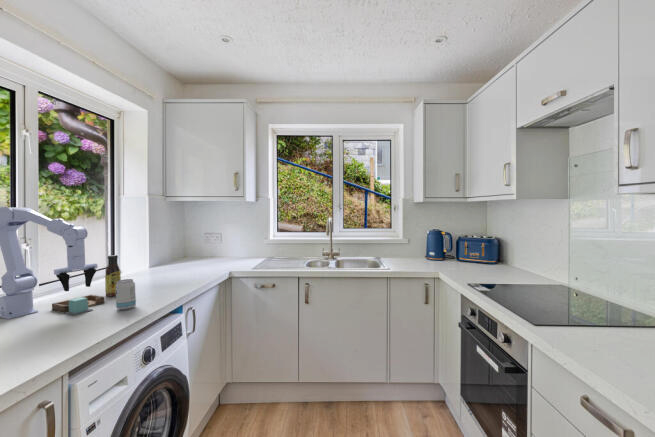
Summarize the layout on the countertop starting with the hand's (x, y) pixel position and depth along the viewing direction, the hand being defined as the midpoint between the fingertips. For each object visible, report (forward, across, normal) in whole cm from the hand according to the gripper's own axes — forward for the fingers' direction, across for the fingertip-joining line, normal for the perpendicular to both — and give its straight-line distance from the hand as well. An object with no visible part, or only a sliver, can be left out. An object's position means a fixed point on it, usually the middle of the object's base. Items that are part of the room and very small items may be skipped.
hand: (77, 288), depth 127 cm
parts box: (+10, +4, +9) cm, 14 cm away
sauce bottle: (+10, +22, +14) cm, 27 cm away
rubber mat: (+10, 0, 0) cm, 10 cm away
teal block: (+9, 0, 0) cm, 9 cm away
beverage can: (+10, +10, -14) cm, 20 cm away
